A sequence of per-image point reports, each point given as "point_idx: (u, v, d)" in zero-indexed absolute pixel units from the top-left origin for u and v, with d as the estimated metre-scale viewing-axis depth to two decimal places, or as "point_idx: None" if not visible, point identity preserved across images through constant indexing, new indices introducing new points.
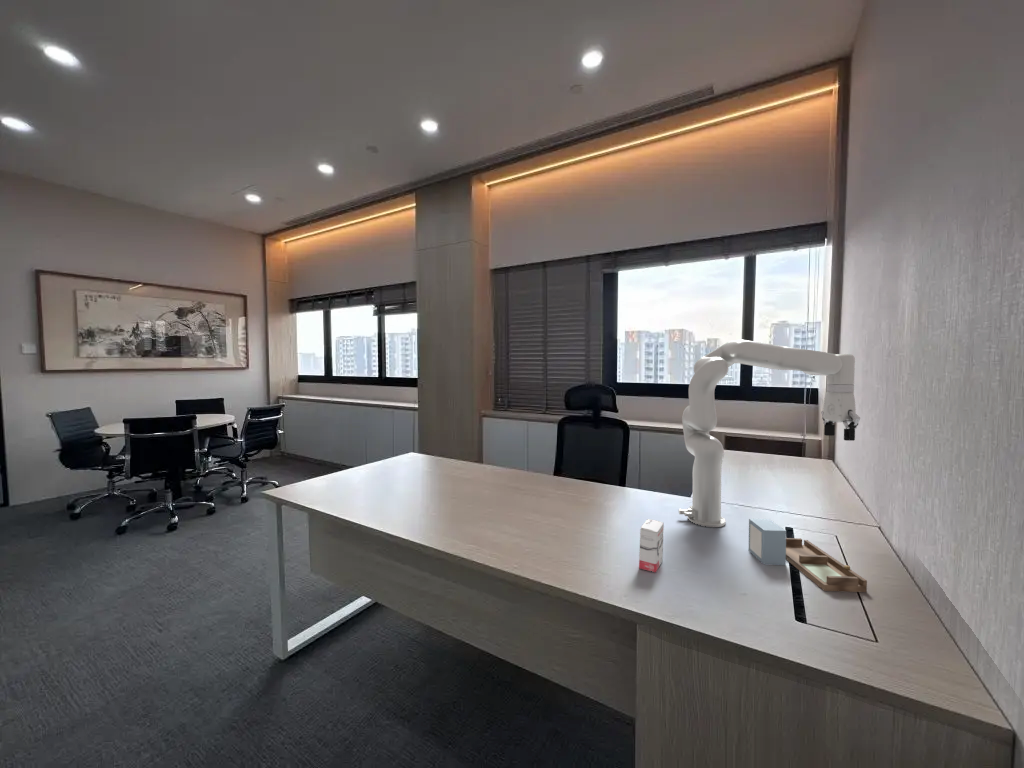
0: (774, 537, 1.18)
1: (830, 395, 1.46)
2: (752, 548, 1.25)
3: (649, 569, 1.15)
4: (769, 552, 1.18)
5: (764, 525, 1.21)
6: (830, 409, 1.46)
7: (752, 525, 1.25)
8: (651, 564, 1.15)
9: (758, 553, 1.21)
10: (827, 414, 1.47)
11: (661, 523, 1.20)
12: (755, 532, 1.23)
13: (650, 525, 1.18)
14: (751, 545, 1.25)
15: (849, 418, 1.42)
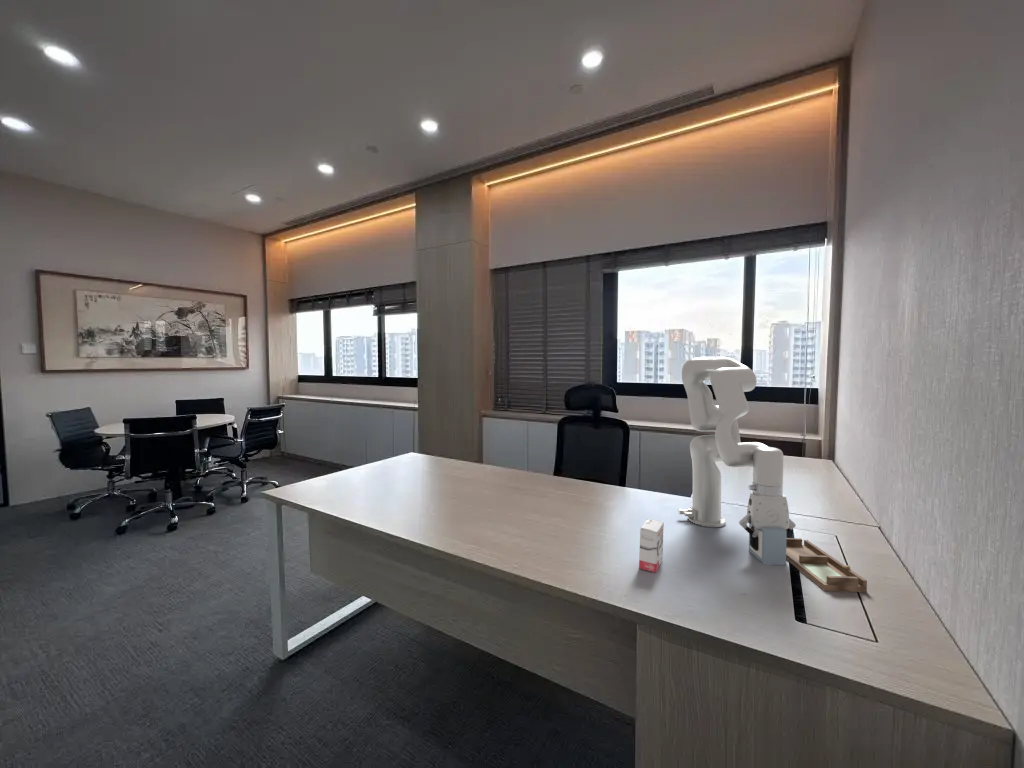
0: (774, 537, 1.18)
1: (769, 499, 1.20)
2: (752, 548, 1.25)
3: (649, 569, 1.15)
4: (770, 552, 1.18)
5: None
6: (771, 515, 1.20)
7: None
8: (651, 564, 1.15)
9: (758, 553, 1.21)
10: (765, 523, 1.20)
11: (661, 523, 1.20)
12: None
13: (650, 525, 1.18)
14: None
15: None
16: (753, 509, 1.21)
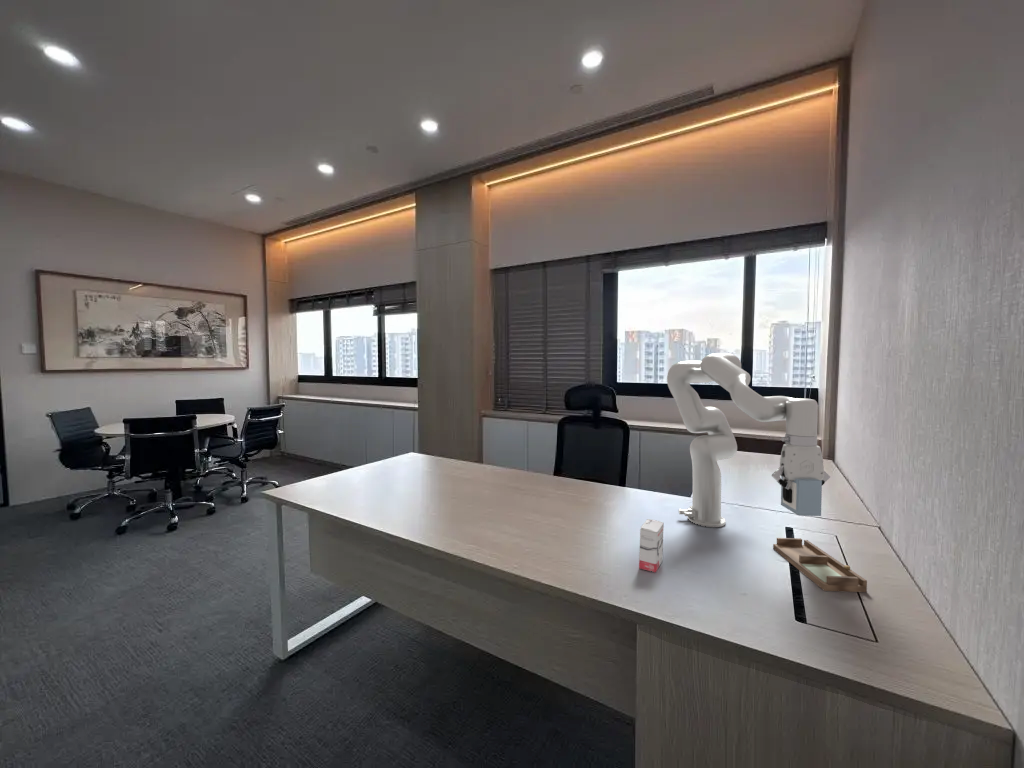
0: (809, 487, 1.16)
1: (803, 450, 1.18)
2: (785, 501, 1.23)
3: (649, 569, 1.15)
4: (804, 503, 1.17)
5: None
6: (806, 466, 1.18)
7: None
8: (651, 564, 1.15)
9: (792, 505, 1.20)
10: (799, 474, 1.18)
11: (661, 523, 1.20)
12: None
13: (650, 525, 1.18)
14: None
15: None
16: (787, 460, 1.19)
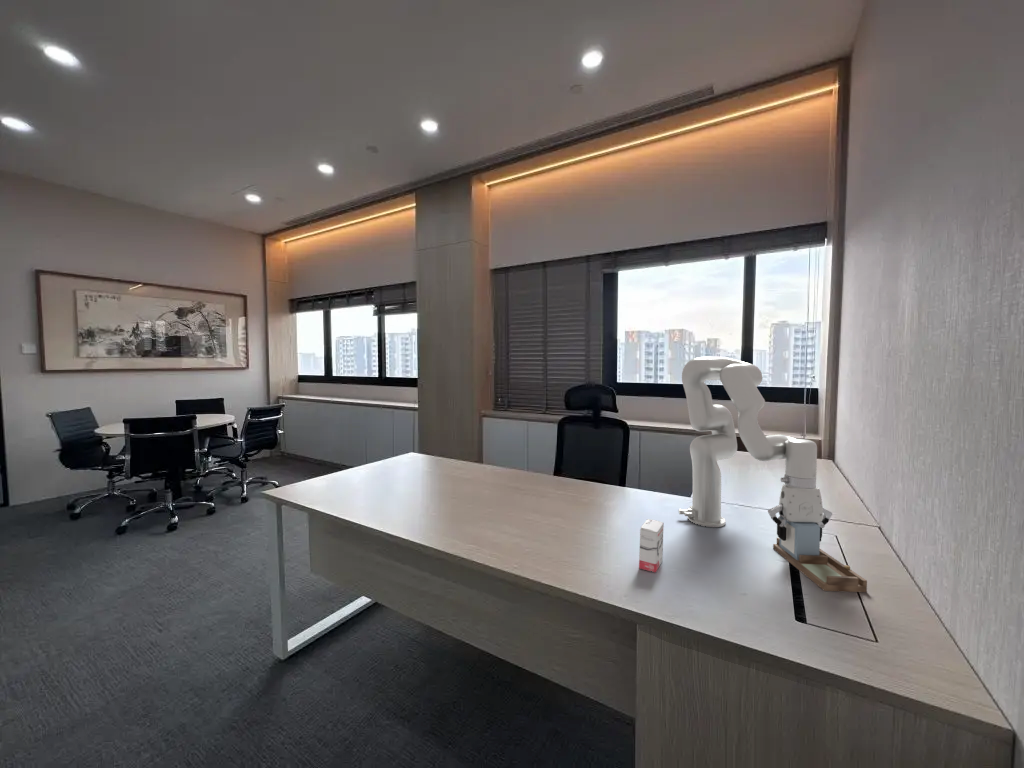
0: (808, 532, 1.17)
1: (803, 491, 1.18)
2: (784, 544, 1.24)
3: (649, 569, 1.15)
4: (803, 547, 1.17)
5: None
6: (805, 508, 1.18)
7: None
8: (651, 564, 1.15)
9: (791, 549, 1.20)
10: (798, 515, 1.19)
11: (661, 523, 1.20)
12: (787, 527, 1.22)
13: (650, 525, 1.18)
14: (782, 541, 1.25)
15: None
16: (786, 501, 1.20)
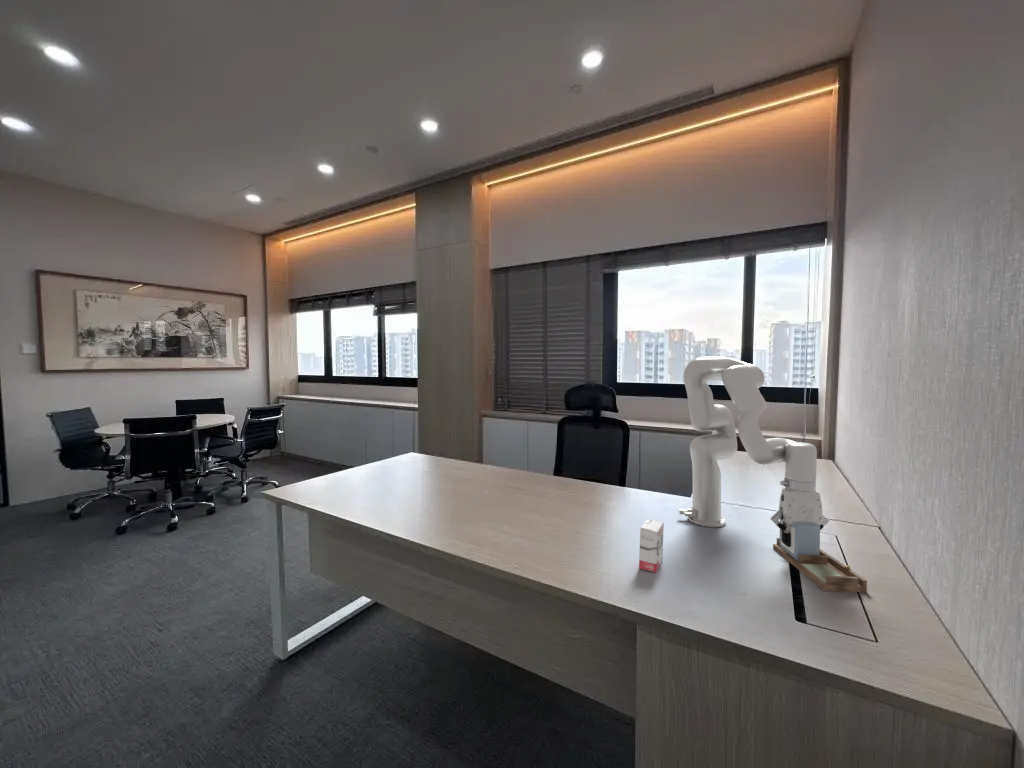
0: (808, 532, 1.17)
1: (802, 495, 1.18)
2: (784, 544, 1.24)
3: (649, 569, 1.15)
4: (803, 547, 1.17)
5: None
6: (804, 511, 1.18)
7: None
8: (651, 564, 1.15)
9: (791, 549, 1.20)
10: (798, 518, 1.19)
11: (661, 523, 1.20)
12: None
13: (650, 525, 1.18)
14: None
15: None
16: (786, 505, 1.20)
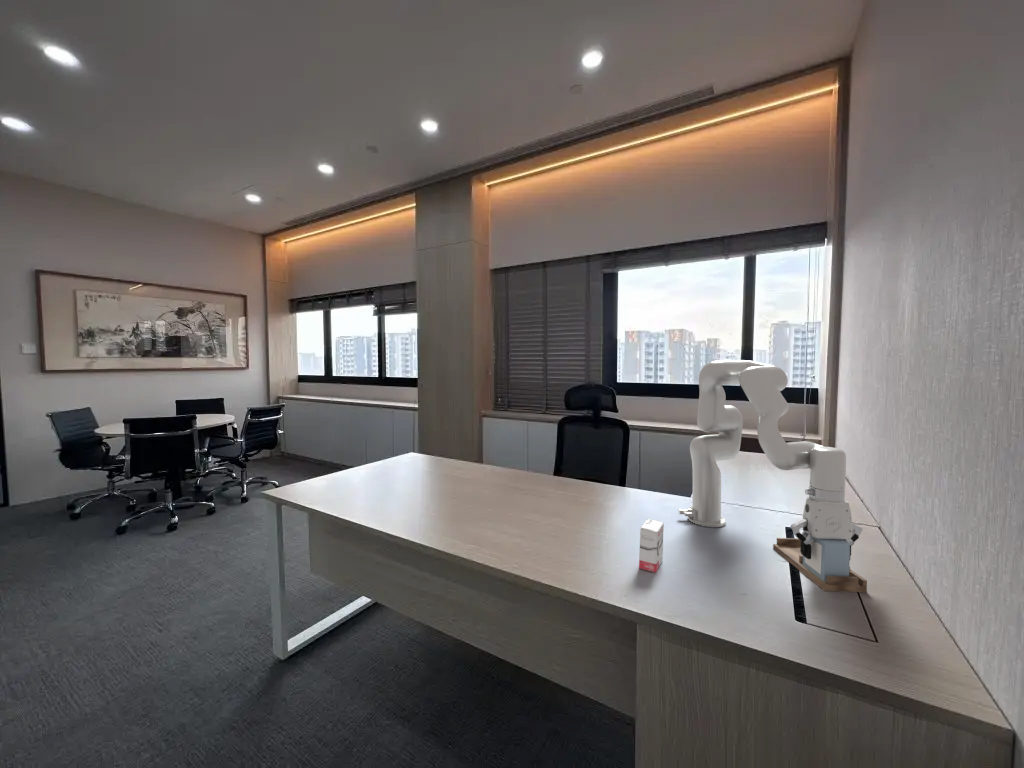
0: (836, 551, 1.06)
1: (830, 505, 1.07)
2: (808, 562, 1.12)
3: (649, 569, 1.15)
4: (831, 567, 1.06)
5: None
6: (832, 524, 1.07)
7: None
8: (651, 564, 1.15)
9: (817, 568, 1.09)
10: (825, 531, 1.07)
11: (661, 523, 1.20)
12: (812, 544, 1.11)
13: (650, 525, 1.18)
14: (807, 559, 1.13)
15: None
16: (811, 516, 1.08)
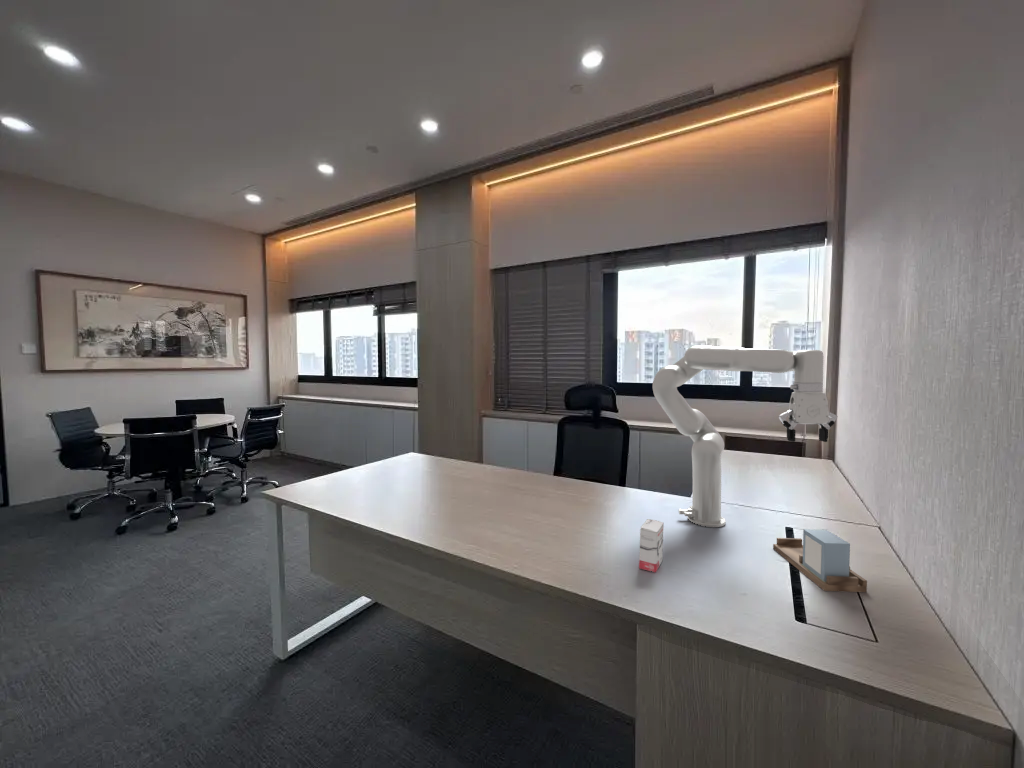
0: (836, 551, 1.06)
1: (810, 395, 1.30)
2: (808, 562, 1.12)
3: (649, 569, 1.15)
4: (831, 567, 1.06)
5: (823, 537, 1.09)
6: (812, 410, 1.30)
7: (808, 537, 1.12)
8: (651, 564, 1.15)
9: (817, 568, 1.09)
10: (806, 417, 1.31)
11: (661, 523, 1.20)
12: (812, 544, 1.11)
13: (650, 525, 1.18)
14: (807, 559, 1.13)
15: None
16: (795, 405, 1.32)
